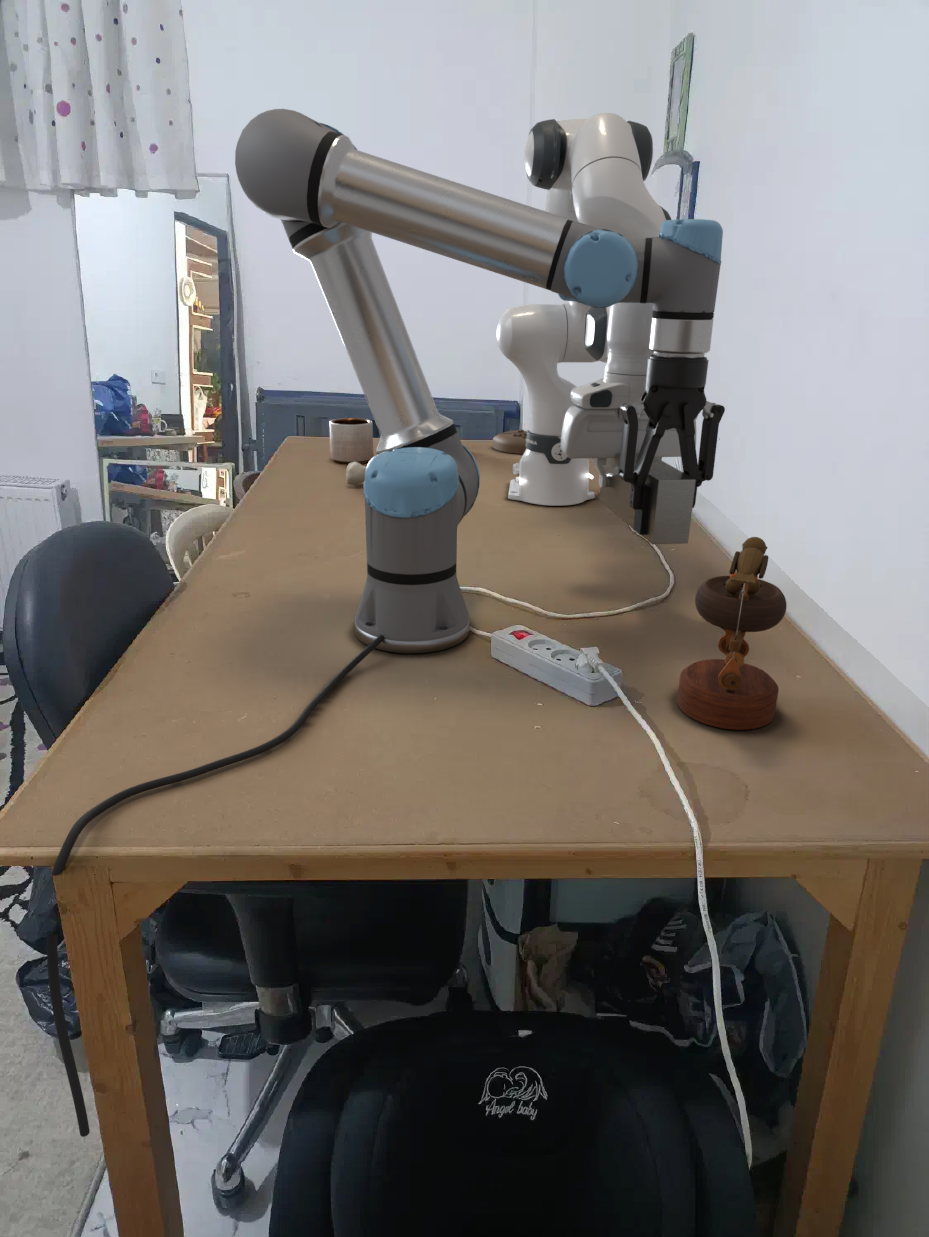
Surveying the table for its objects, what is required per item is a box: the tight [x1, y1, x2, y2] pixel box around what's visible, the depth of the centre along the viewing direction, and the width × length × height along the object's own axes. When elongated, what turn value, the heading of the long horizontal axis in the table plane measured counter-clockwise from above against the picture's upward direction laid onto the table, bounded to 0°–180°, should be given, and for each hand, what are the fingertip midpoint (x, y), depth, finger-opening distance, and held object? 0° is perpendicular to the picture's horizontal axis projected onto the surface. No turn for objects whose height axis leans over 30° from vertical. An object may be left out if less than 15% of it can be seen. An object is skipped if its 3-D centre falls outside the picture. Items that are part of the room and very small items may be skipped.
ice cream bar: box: [492, 428, 529, 455], centre depth 225 cm, size 21×28×4 cm
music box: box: [676, 536, 788, 731], centre depth 91 cm, size 15×11×20 cm
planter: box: [328, 417, 375, 464], centre depth 212 cm, size 11×11×10 cm
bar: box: [598, 453, 696, 546], centre depth 121 cm, size 23×5×9 cm, turn 9°
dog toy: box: [345, 462, 366, 486], centre depth 189 cm, size 20×6×5 cm, turn 99°
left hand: (659, 531), depth 116 cm, fingers closed on bar, 5 cm apart
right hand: (624, 486), depth 128 cm, fingers closed on bar, 5 cm apart
